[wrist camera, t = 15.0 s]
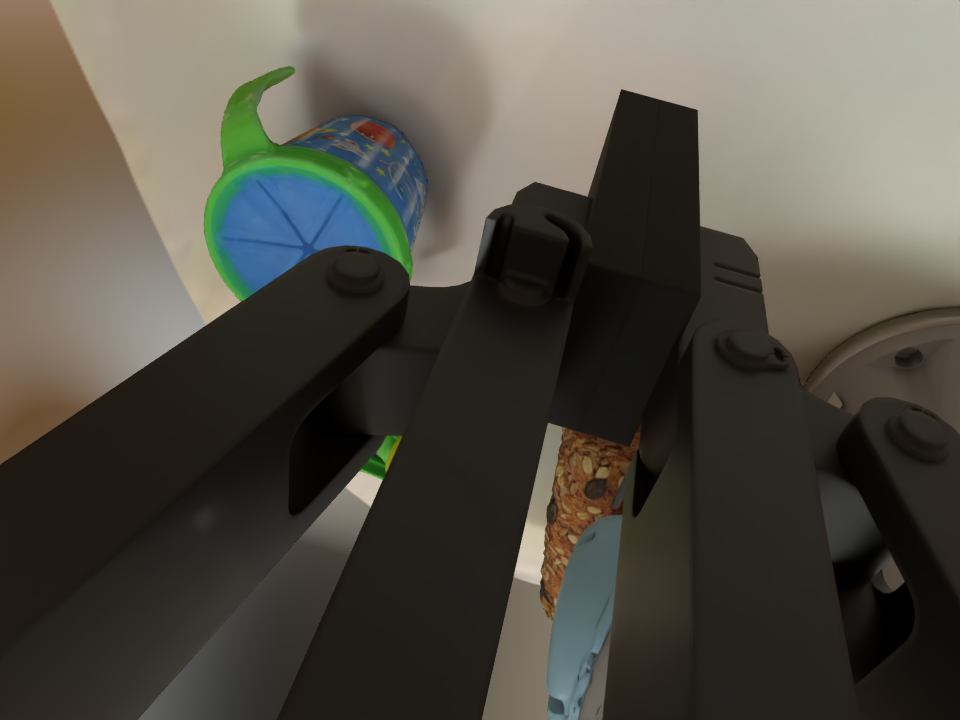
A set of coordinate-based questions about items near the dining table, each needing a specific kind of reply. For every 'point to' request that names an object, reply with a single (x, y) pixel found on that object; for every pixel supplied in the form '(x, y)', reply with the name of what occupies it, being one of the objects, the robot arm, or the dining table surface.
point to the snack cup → (308, 192)
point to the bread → (579, 500)
